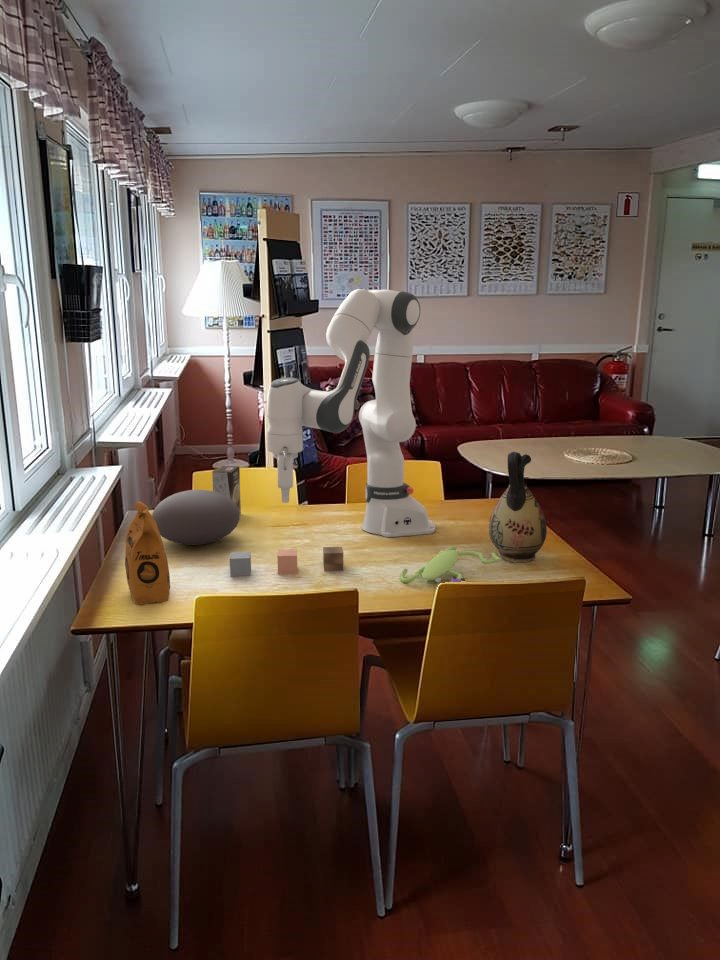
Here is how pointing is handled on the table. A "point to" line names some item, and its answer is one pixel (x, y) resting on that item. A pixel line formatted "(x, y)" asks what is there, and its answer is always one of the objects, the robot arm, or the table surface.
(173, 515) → the flattened ellipsoid
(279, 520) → the table surface
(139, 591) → the coffee package
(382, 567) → the table surface
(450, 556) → the figurine
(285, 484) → the robot arm
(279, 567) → the terracotta block
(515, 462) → the ceramic jug
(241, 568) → the slate block
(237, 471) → the coffee box
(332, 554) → the walnut block
